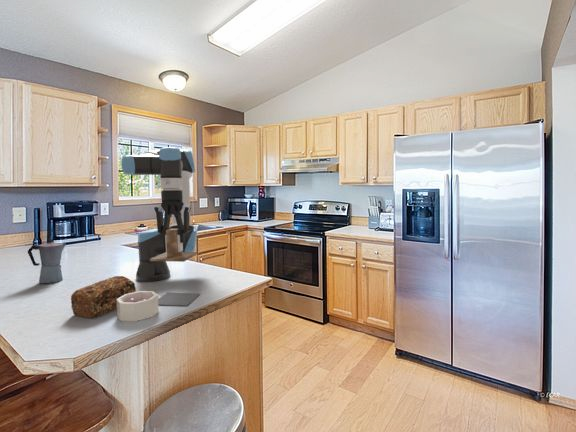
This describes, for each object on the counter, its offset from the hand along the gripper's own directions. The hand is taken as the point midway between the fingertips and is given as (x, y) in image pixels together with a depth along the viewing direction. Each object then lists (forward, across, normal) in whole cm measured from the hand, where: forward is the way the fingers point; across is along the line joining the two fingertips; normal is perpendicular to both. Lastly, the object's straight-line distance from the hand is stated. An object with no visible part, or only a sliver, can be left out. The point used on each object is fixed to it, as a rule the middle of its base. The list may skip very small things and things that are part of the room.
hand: (174, 251), depth 121 cm
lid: (+2, 0, 0) cm, 2 cm away
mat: (+19, 0, 0) cm, 19 cm away
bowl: (+19, -7, -14) cm, 25 cm away
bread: (+19, -22, -10) cm, 31 cm away
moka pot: (+19, -70, +19) cm, 75 cm away
